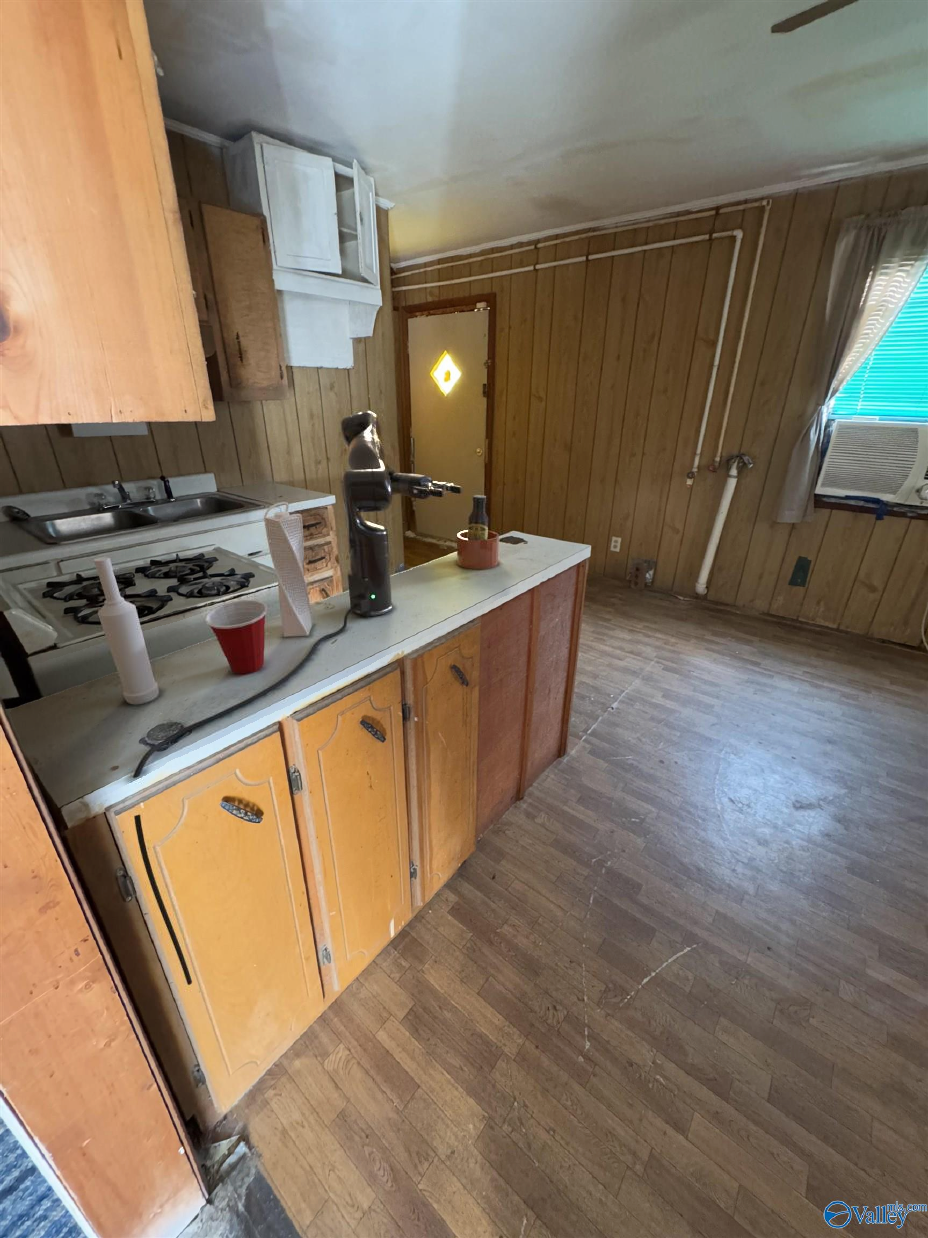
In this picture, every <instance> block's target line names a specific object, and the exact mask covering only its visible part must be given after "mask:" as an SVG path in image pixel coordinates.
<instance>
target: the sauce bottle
mask: <svg viewBox="0 0 928 1238" xmlns="http://www.w3.org/2000/svg"><path fill="white" fill-rule="evenodd" d="M486 502H487V496H486V495H483V494H475V495H473V496H472V510H471V512H470V514H469V516H468V523H467V531H468V534H467V539H471V540H487V535H488V531H489V516H488V515H487V512H486Z"/></svg>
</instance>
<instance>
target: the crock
mask: <svg viewBox="0 0 928 1238" xmlns="http://www.w3.org/2000/svg"><path fill="white" fill-rule="evenodd" d="M467 534H468V530H463V531H460V532H458V533H457V536H456V550H457V551H456V561H457V562H456V563H457V565H458V566H459V567H461V568H464V569H469V570H486V569H492V568H495V567H496V566H498V564H499V543H500V542H499V541H500V534H499V533H497V532H495V531H493V530H488V535H487V540H471V539H467Z"/></svg>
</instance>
